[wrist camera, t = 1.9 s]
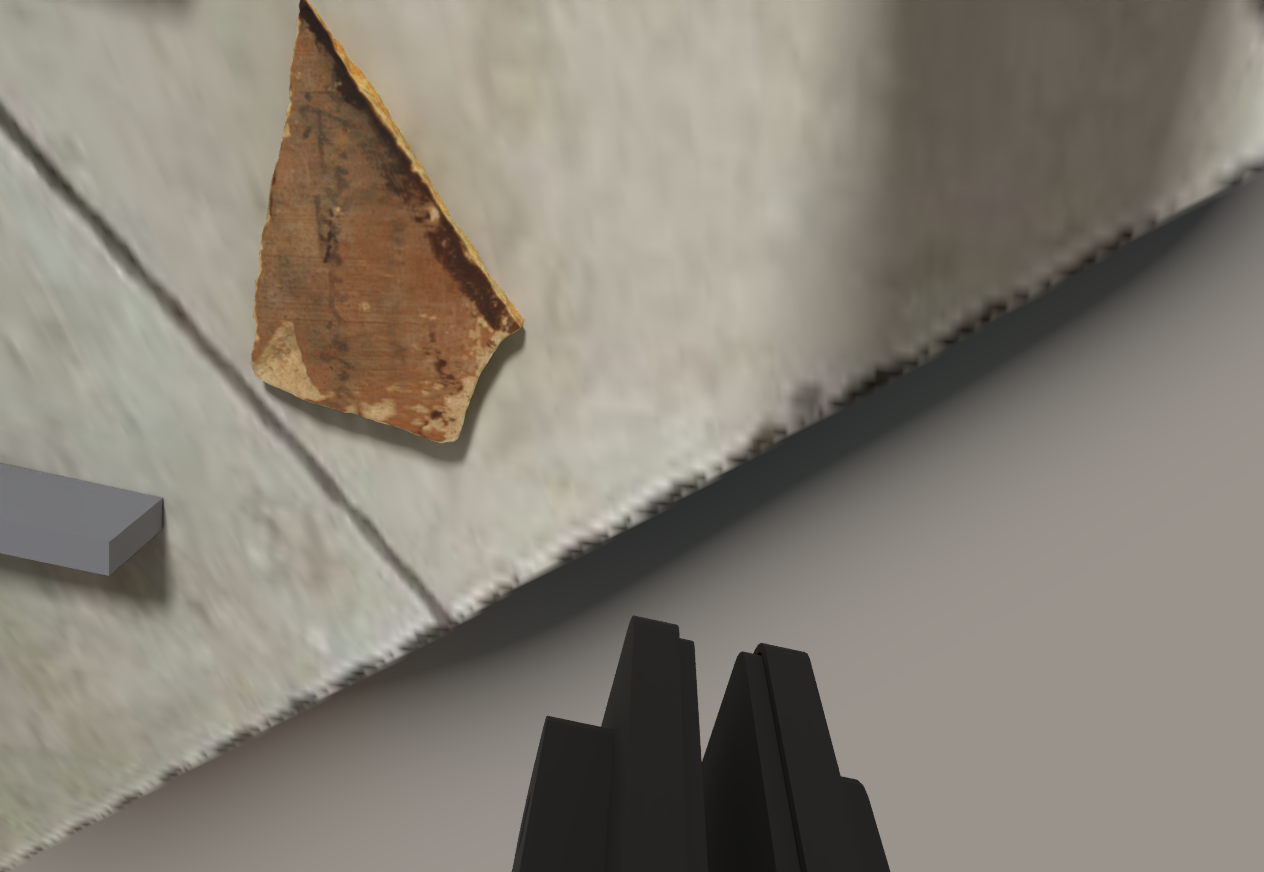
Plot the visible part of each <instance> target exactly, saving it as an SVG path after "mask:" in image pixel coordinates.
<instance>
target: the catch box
mask: <svg viewBox="0 0 1264 872" xmlns="http://www.w3.org/2000/svg"><path fill="white" fill-rule="evenodd" d="M162 506H163V498H160V497H155V496H151V495H146V494H141V493H137V492H132V491H127V490H123V489H118V488H114V487H109V486H104V485H100V484H95V483H90V482H86V481H81V480H76V479H72V478H67V477H62V476H58V475H53V474H48V473H44V472H39V471H34V470H30V469H25V468H21V467H16V466H11V465H7V464H2V463H0V553H1V554H6V555H11V556H16V557H20V558H25V559H30V560H35V561H40V562H44V563H49V564H54V565H59V566H63V567H68V568H73V569H78V570H83V571H87V572H92V573H97V574H102V575H106V576H109V575H111V574H112V573H113V572H114V571H115V570H116V569H117V568H119V567H120V566H121V565H122V564H123V563H124V562H125V561H127V560H128V559H129V558H130V557H131V556H132V555H133V554H134V553H136V552H137V551H138V550H139V549H140V548H141V547H142V546H144V545H145V544H146V543H147V542H148V541H149V540H150V539H152V538H153V537H154V536H155V535H156V534H157V533H158V532H159V531H161V530H162Z"/></svg>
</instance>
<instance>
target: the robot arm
mask: <svg viewBox="0 0 1264 872" xmlns="http://www.w3.org/2000/svg"><path fill="white" fill-rule="evenodd" d="M697 697H698V696H697V680H696V663H695V647H694V642H693V641H690V640H686V639H681V638H679V627H678V625H675V624H671V623H666V622H661V621H657V620H652V619H647V618H642V617H638V616H632V618H631V620H630V623H629V627H628V630H627V633H626V637H625V641H624V645H623V648H622V652H621V656H620V660H619V663H618V667H617V670H616V674H615V678H614V681H613V685H612V689H611V692H610V696H609V700H608V703H607V707H606V711H605V714H604V718H603V722H602V726H601V727H599V726H594V725H589V724H584V723H579V722H575V721H570V720H565V719H560V718H555V717H550V716H547V717H546V719H545V723H544V727H543V731H542V735H541V739H540V743H539V747H538V752H537V756H536V760H535V764H534V768H533V773H532V777H531V782H530V786H529V790H528V795H527V799H526V805H525V809H524V813H523V818H522V823H521V828H520V833H519V838H518V843H517V848H516V853H515V859H514V864H513V869H512V872H890V869H889V866H888V862H887V859H886V855H885V852H884V849H883V845H882V842H881V838H880V835H879V832H878V828H877V825H876V821H875V818H874V815H873V811H872V808H871V804H870V801H869V798H868V795H867V793H866V791H865V788H864V786H863V785H862V784H861V783H860V782H859V781H858V780H856V779H851V778H846V777H841V776H840V773H839V768H838V764H837V761H836V757H835V753H834V749H833V745H832V742H831V738H830V734H829V730H828V726H827V723H826V719H825V715H824V711H823V707H822V703H821V700H820V696H819V692H818V688H817V684H816V681H815V677H814V673H813V669H812V665H811V661H810V658H809V656H808V654H807V653H805V652H801V651H797V650H792V649H787V648H783V647H778V646H774V645H769V644H764V643H760V644H759V645H758V646H757V648H756V649H755V651H754V653H753V654H751V653H747V652H740V653H739V655H738V656H737V659H736V662H735V664H734V668H733V670H732V674H731V677H730V679H729V682H728V685H727V688H726V691H725V694H724V698H723V700H722V703H721V707H720V710H719V713H718V716H717V719H716V722H715V725H714V728H713V731H712V734H711V737H710V740H709V743H708V746H707V749H706V752H705V755H704V758H703V761H702V762H701V746H700V729H699V713H698V698H697Z"/></svg>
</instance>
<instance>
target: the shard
mask: <svg viewBox="0 0 1264 872" xmlns="http://www.w3.org/2000/svg"><path fill="white" fill-rule="evenodd" d="M299 9H300V13H299V17H298V23H297V36H296V42H295V45H294V49H293V50H294V53H293V58H292V62H291V66H290V87H289V95H290V103H289V106H288V109H287V112H286V115H287V118H286V122H285V126H284V133H283V137H282V138H283V140H282V143H281V148H280V151H279V159H278V161H277V163H276V165H275V170H274V174H273V177H272V181H271V188H270V196H269V205H268V213H267V220H266V223H265V226H264V229H263V233H262V241H261V247H260V253H259V255H260V270H259V274H258V276H257V279H256V292H255V305H254V314H253V317H254V319H255V322H256V324H257V327H256V339H255V341H254V346H253V351H252V356H251V366H252V369H253V371H254V373H255V376H256V377H257V378H259V379H261V380H263V381H264V382H266V383H267V384H268V385H271V386H273V387H276V388H280V389H282V390H284V391H285V392H288V393H291V394H293V395H295V396H296V397H298V398H300V399H302V400H304V401H307V402H310V403H312V404H319V405H322V406H325V407H329V408H332V409H335V410H338V411H340V412H344V413H354V414H356V415H359V416H361V417H363V418H366V419H371V420H373V421H376V422H380V423H384V424H387V425H391V426H395V427H398V428H401V429H404V430H406V431H408V432H410V433H412V434H414V435H417V436H419V437H422V438H425V439H427V440H430V441H434V442H438V443H445V442H455V441H456V440H457V439H458V437H459V435H460V432H461V429H462V427H463V424H464V418H465V414H466V410H467V408H468V406H469V402H470V400H471V397H472V395H473V393H474V389H475V386H476V384H477V381H478V379H479V376H480V374H481V372H482V370H483V369H484V367H485V366H486V365H487V363H488V361H489V359H490V358H491V356H492V354H493V353H494V352H495V351H496V349H497V347H498V346H499V344H500V343H501V342H502V341H503V340H504V339H505V338H506V337H508V336H510V335H512V334H514V333H515V332H517V331H518V330H519V329H521V327H522V326H523V324H524V319H523V318H522V317H521V316H520V314H519V313H518V311H517V310H516V308H515V307H514V305H513V304H512V303H511V302H510V301H509V299H508V298H507V297H506V295H505V293H504V292H503V291H502V290H501V289H500V288H499V287H498V285H497V284H496V282H495V281H494V280H493V279H492V277H491V276H490V275H489V274H488V272H487V270H486V268H485V266H484V265H483V263H482V261H481V259H480V257H479V254H478V252H477V250H476V249H475V248H474V246H473V245H472V244H471V243H470V241H469V240H468V239H467V237H466V236H465V235H464V234H463V232H462V231H461V230H460V229H459V228H458V227H457V226H456V224H455V223H454V222H453V221H452V219H451V217H450V215H449V213H448V210H447V209H446V207H445V206H444V204H443V203H442V201H441V199H440V198H439V196H438V194H437V192H436V191H435V189H434V188H433V185H432V183H431V181H430V179H429V177H428V176H427V174H426V172H425V170H424V168H423V167H422V166H421V164H420V163H419V162H418V160H417V159H416V157H415V154H414V153H413V152H412V150H411V148H410V146H409V145H408V144H407V143H406V141H405V139H404V137H403V135H402V134H401V132H400V130H399V128H398V127H397V126H396V124H395V123H394V122H393V121H392V119H391V117H390V115H389V112H388V110H387V109H386V107H385V106H384V104H383V102H382V100H381V98H380V96H379V94H378V93H377V92H376V91H375V90H374V88H373V87H372V85H371V84H370V83H369V81H368V80H367V79H366V78H365V76H364V75H363V73H362V71H361V70H360V69H358V68H357V67H356V66H355V65H354V64H353V63H352V61H351V60H350V59H349V57H348V56H347V54H346V53H345V51H344V49H343V47H342V45H341V44H340V43H339V42H338V41H336V40H335V39H334V38H333V35H332V34H331V32H330V31H329V29H328V28H327V26H326V25H325V23H324V22H323V20H322V19H321V17H320V16H319V14H318V12H317V11H316V10H315V8H314V7H313V6H312V5H311V4H310V3H309V2H308V1H307V0H300V3H299Z"/></svg>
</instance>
